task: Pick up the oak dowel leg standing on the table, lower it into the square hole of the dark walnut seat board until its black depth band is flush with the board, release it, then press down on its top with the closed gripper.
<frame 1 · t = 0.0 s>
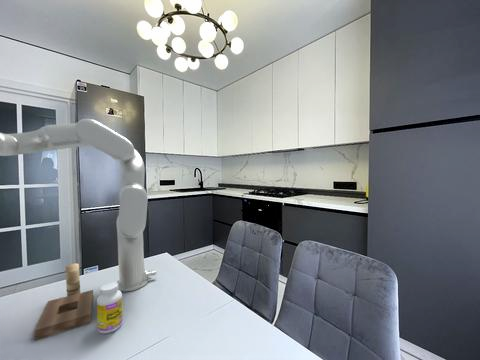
board: (68, 316, 72), on the table
supplement bottle: (110, 327, 67), on the table
peg: (73, 296, 83), on the table
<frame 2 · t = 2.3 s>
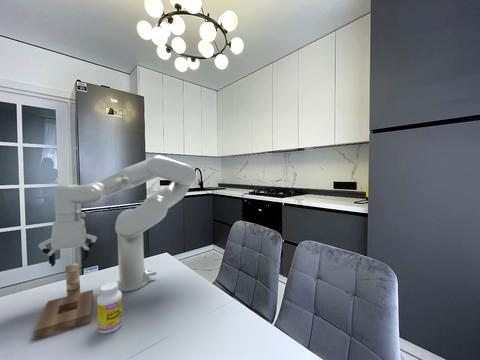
hand: (69, 262, 82), 13 cm above the table, fingers open, 9 cm apart
nothing on the table moved.
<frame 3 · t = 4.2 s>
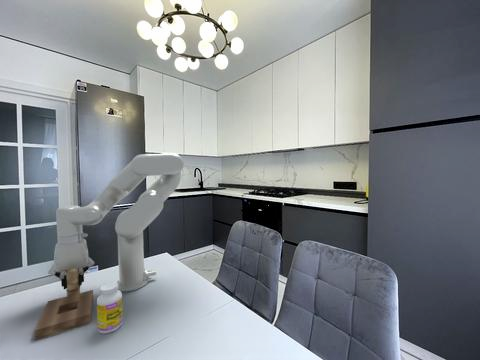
hand: (73, 285, 82), 4 cm above the table, fingers closed on peg, 4 cm apart
peg: (73, 296, 83), on the table, touching gripper
everything else where it was.
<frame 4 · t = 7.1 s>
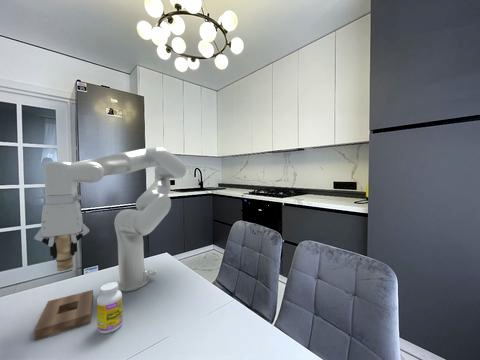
hand: (64, 255, 70), 21 cm above the table, fingers closed on peg, 4 cm apart
peg: (65, 268, 71), point 16 cm above the table, touching gripper
everything else where it was.
when the fingers open (5 cm above the table, at t = 10.0 s): peg stays where it is, resting in board.
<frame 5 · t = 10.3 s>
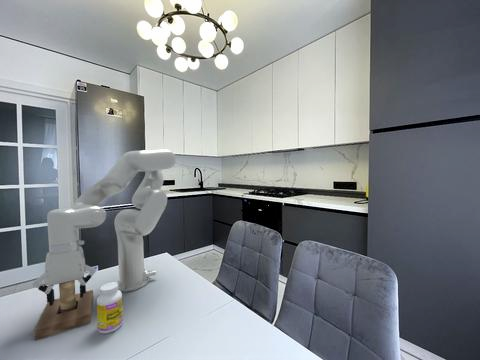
hand: (67, 299, 71), 6 cm above the table, fingers open, 7 cm apart
peg: (68, 315, 72), resting in board
everything else where it was.
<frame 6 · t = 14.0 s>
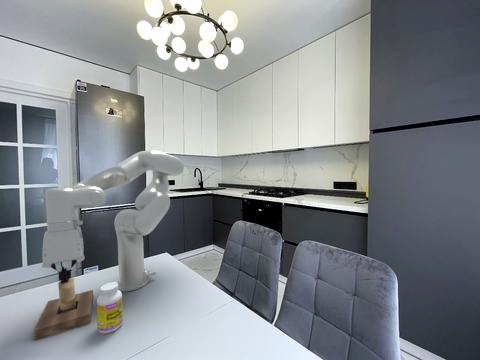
hand: (65, 281, 71), 12 cm above the table, fingers closed
peg: (68, 315, 72), resting in board, touching gripper
everything else where it was.
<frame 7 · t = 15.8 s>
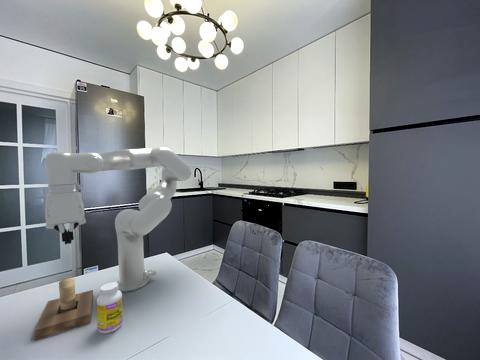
hand: (68, 242, 74), 23 cm above the table, fingers closed
peg: (68, 315, 72), resting in board
everything else where it was.
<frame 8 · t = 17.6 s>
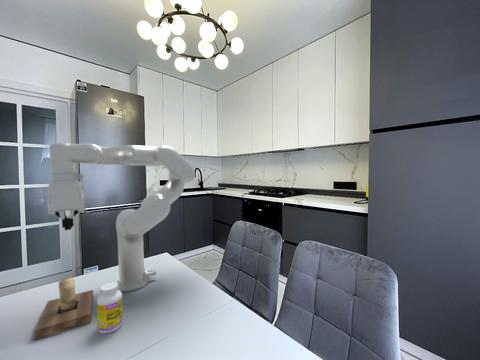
hand: (68, 229, 78), 27 cm above the table, fingers closed
nothing on the table moved.
at the end: peg 0.1 cm off-centre on the board, point 0.0 cm above the board's base; peg tilted 0°; the gripper is holding nothing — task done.
